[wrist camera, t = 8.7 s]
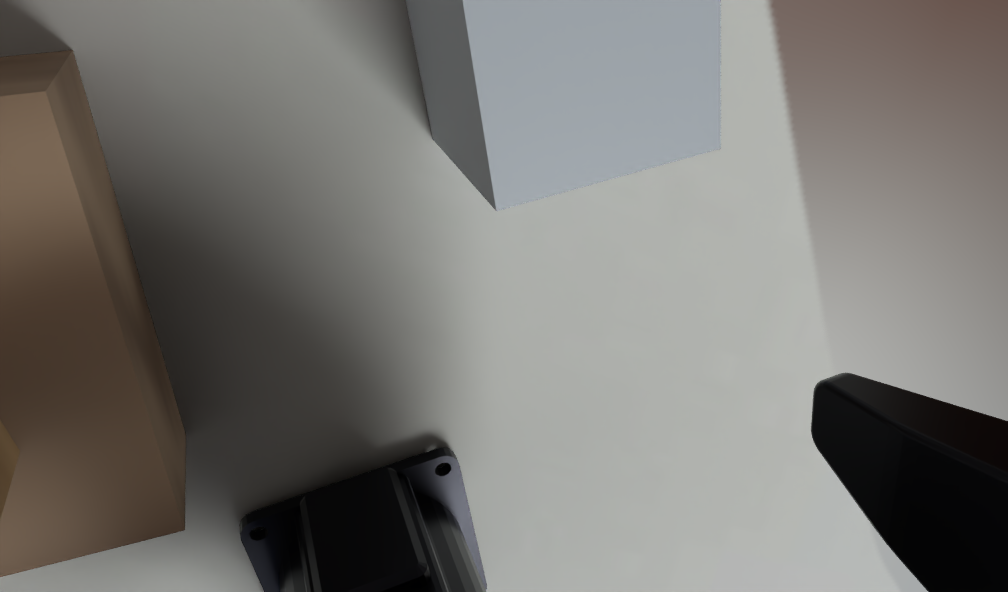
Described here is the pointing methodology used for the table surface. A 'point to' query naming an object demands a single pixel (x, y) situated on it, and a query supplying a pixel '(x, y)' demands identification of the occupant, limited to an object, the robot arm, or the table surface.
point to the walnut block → (75, 338)
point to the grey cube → (567, 88)
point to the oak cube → (6, 463)
